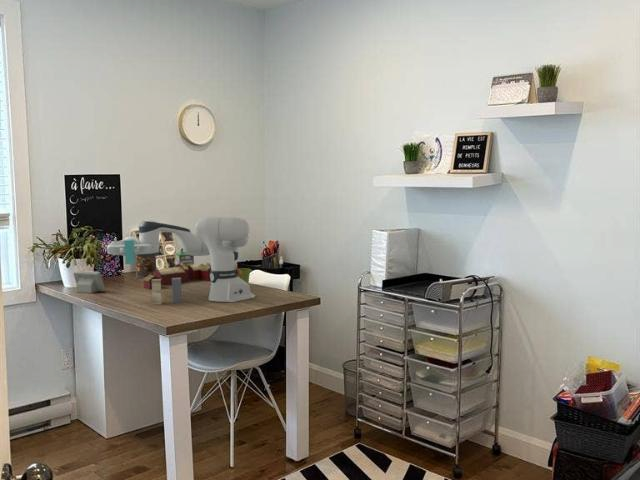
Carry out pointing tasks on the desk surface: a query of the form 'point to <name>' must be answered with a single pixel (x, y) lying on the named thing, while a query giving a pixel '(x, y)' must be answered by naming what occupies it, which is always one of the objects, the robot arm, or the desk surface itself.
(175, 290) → the charcoal post
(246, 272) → the plant pot
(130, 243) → the teal post
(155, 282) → the birch post
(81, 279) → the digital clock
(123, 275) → the desk surface
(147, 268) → the jar
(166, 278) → the toy houses
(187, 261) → the chalk box
